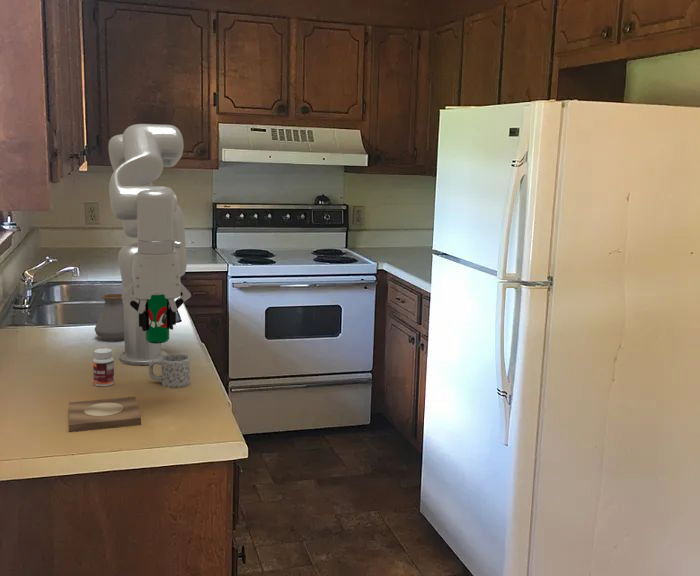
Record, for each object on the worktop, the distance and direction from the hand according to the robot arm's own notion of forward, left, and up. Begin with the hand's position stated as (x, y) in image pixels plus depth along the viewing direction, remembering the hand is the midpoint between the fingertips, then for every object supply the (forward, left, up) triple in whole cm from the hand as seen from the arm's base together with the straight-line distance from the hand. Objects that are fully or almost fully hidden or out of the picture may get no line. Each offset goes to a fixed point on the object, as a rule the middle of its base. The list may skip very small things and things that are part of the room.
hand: (157, 328), depth 164 cm
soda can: (0, 0, -3) cm, 3 cm away
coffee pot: (-62, -1, -18) cm, 65 cm away
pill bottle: (-18, -11, -18) cm, 28 cm away
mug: (-14, +4, -18) cm, 23 cm away
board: (+5, -12, -18) cm, 22 cm away
